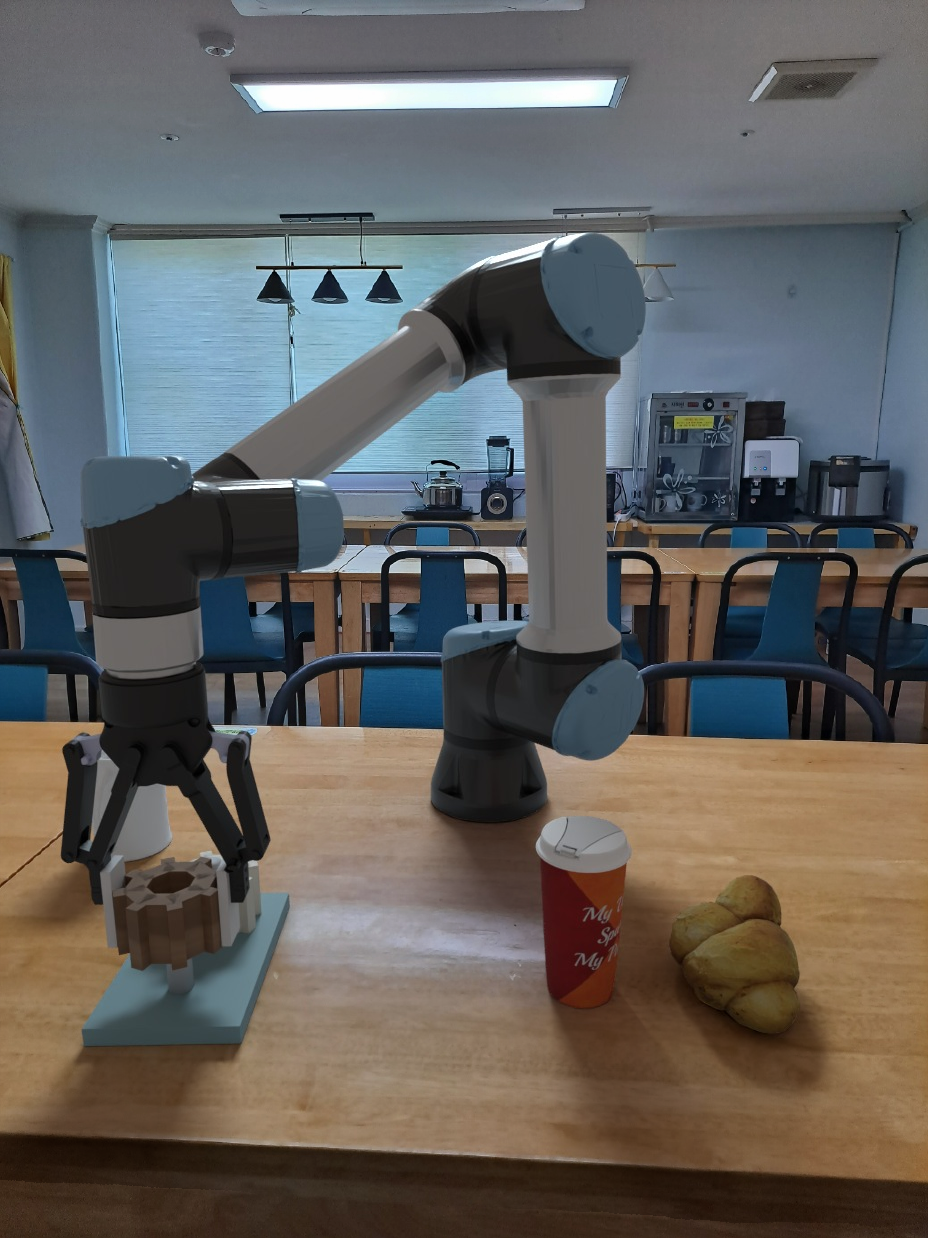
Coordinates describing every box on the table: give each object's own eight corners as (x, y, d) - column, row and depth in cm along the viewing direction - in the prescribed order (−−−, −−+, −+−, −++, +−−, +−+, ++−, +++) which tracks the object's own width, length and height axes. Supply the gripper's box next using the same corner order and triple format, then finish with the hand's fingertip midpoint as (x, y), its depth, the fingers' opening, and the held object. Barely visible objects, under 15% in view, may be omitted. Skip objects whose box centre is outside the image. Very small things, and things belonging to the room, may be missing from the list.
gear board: (289, 906, 80) (285, 836, 79) (241, 1043, 62) (234, 956, 60) (168, 908, 80) (162, 838, 79) (83, 1046, 62) (73, 958, 60)
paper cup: (605, 1031, 63) (610, 866, 60) (518, 996, 67) (519, 841, 64) (640, 976, 69) (646, 825, 66) (559, 948, 73) (561, 804, 70)
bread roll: (824, 1048, 61) (833, 953, 59) (696, 1048, 61) (701, 953, 59) (764, 945, 74) (770, 865, 72) (657, 946, 74) (661, 865, 72)
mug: (133, 880, 86) (122, 774, 83) (58, 875, 87) (46, 770, 84) (185, 829, 97) (177, 734, 95) (119, 825, 98) (109, 732, 96)
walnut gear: (240, 909, 69) (236, 856, 68) (212, 970, 61) (207, 910, 60) (143, 910, 69) (138, 857, 68) (102, 971, 61) (96, 911, 60)
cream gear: (268, 896, 79) (265, 849, 78) (247, 947, 71) (244, 895, 70) (184, 897, 79) (180, 851, 78) (154, 948, 71) (148, 897, 70)
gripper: (302, 651, 64) (314, 909, 69) (35, 653, 64) (65, 912, 69) (282, 677, 57) (297, 964, 62) (-18, 680, 57) (19, 968, 61)
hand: (175, 936), depth 65 cm, fingers closed on walnut gear, 8 cm apart
